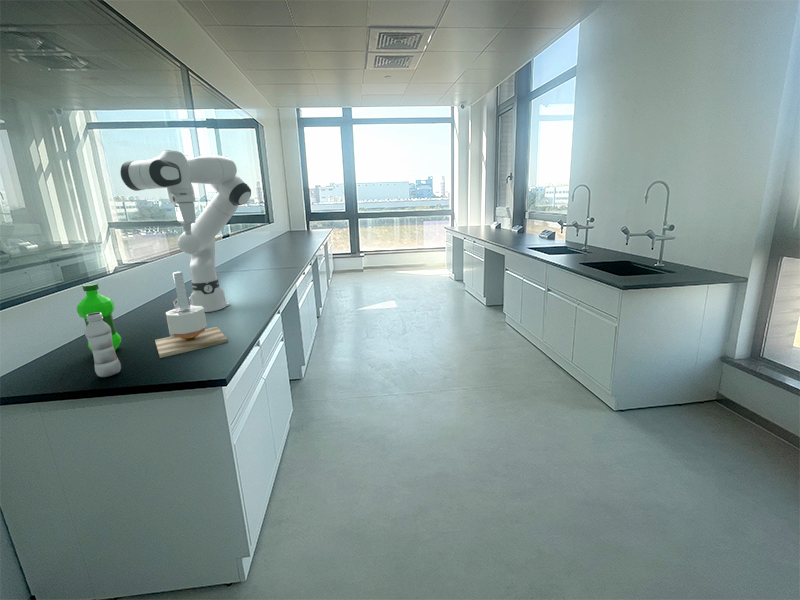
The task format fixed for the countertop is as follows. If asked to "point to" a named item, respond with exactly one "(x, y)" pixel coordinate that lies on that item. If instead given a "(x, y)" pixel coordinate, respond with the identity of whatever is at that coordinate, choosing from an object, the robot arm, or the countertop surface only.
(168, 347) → the oak base board
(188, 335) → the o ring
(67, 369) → the countertop surface
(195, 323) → the sleeve
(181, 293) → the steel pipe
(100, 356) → the plastic bottle
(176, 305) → the ink box
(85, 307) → the plastic bottle
